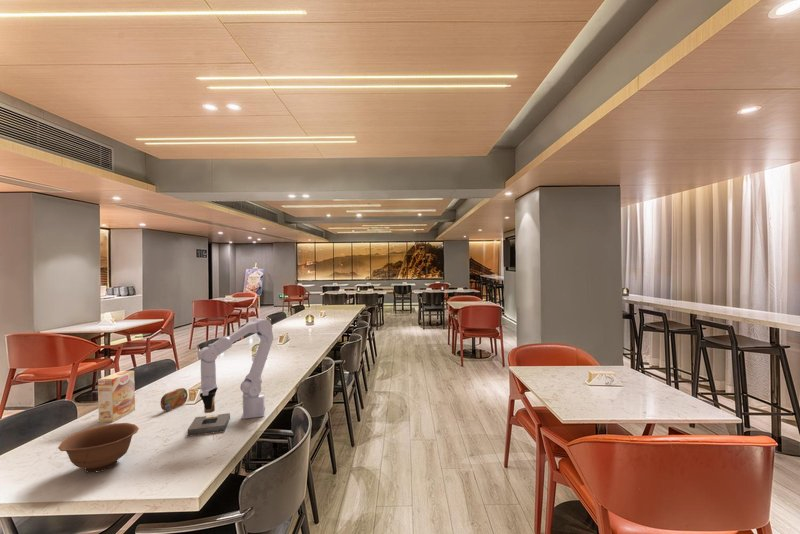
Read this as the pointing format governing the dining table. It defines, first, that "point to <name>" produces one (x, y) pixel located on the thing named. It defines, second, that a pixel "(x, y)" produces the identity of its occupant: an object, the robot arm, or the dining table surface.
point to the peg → (211, 407)
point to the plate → (209, 424)
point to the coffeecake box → (116, 396)
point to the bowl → (99, 446)
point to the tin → (174, 399)
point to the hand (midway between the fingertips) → (209, 407)
